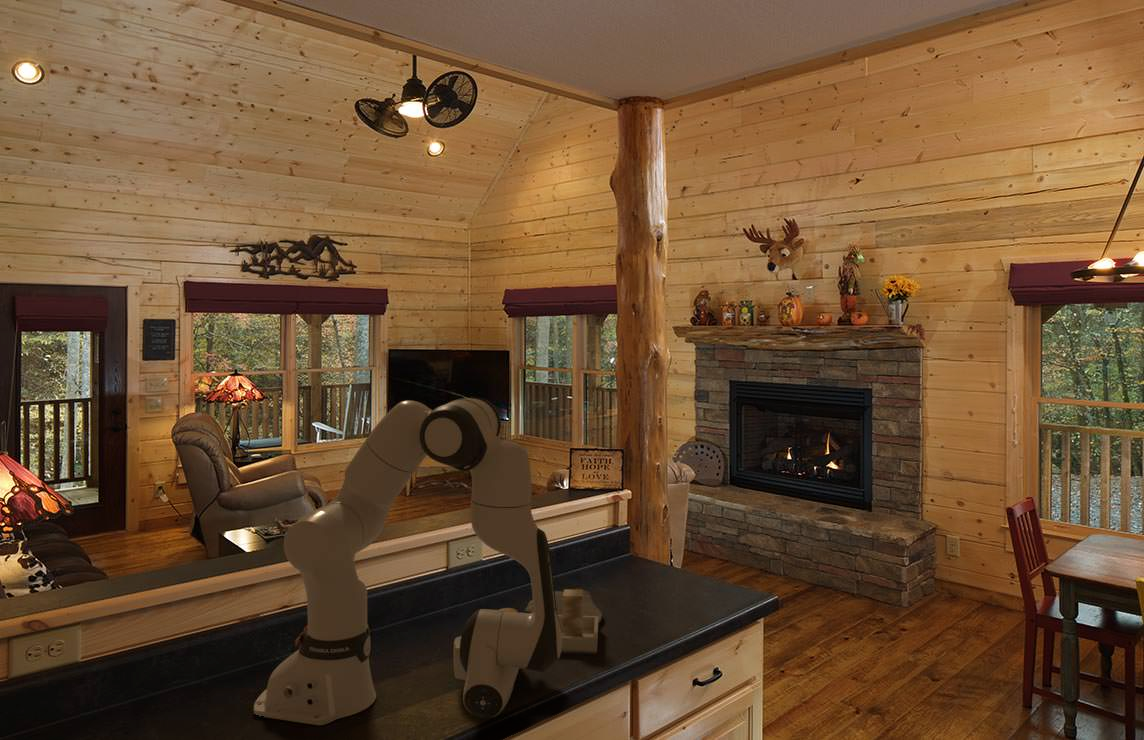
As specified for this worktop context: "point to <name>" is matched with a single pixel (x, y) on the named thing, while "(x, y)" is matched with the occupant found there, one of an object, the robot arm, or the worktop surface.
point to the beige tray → (584, 643)
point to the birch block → (573, 613)
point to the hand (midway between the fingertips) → (507, 636)
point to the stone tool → (588, 605)
